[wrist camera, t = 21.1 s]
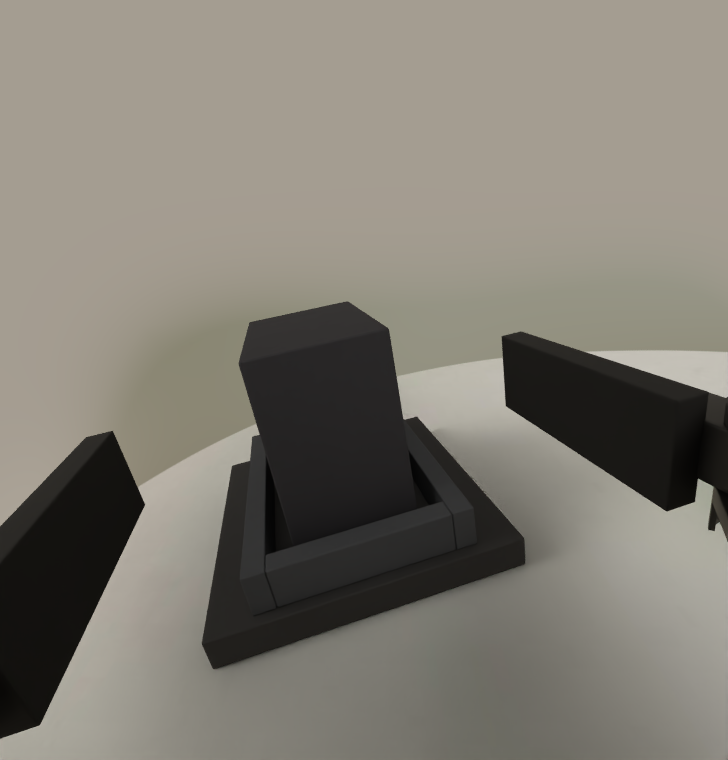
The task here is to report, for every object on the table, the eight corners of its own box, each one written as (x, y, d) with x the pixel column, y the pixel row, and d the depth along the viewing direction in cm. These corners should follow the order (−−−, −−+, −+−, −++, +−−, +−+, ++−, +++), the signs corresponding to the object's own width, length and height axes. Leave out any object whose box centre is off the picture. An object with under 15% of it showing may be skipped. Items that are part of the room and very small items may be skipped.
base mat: (212, 670, 16) (184, 606, 15) (237, 483, 29) (223, 440, 28) (526, 564, 18) (523, 500, 17) (419, 433, 31) (413, 392, 30)
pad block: (298, 565, 19) (237, 362, 15) (289, 467, 27) (248, 322, 24) (421, 528, 20) (389, 327, 16) (375, 444, 28) (348, 300, 24)
